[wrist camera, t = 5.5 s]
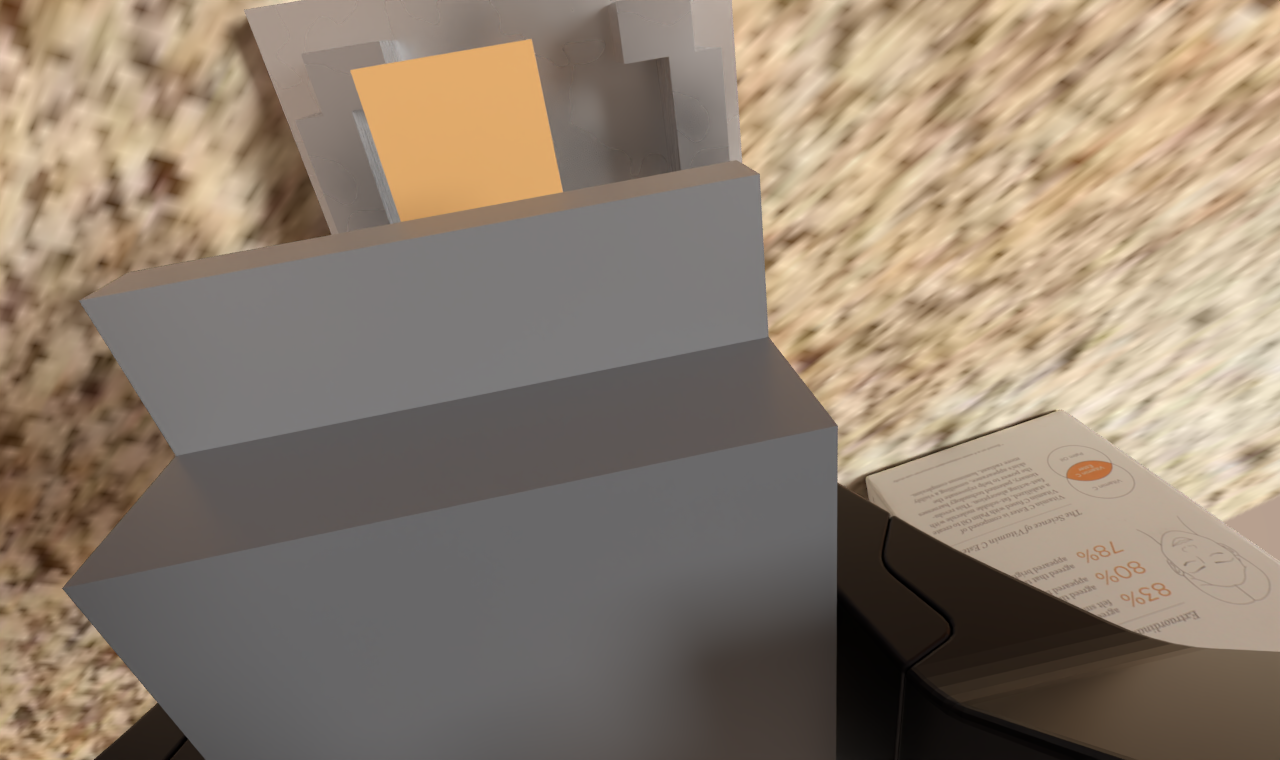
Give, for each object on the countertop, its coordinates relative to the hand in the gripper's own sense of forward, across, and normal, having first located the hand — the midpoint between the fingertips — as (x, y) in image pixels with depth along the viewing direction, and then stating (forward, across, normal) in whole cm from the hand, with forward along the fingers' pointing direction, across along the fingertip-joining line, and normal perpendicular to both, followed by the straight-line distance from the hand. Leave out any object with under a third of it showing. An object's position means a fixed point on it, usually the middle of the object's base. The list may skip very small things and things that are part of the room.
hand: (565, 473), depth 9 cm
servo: (+1, 0, 0) cm, 1 cm away
